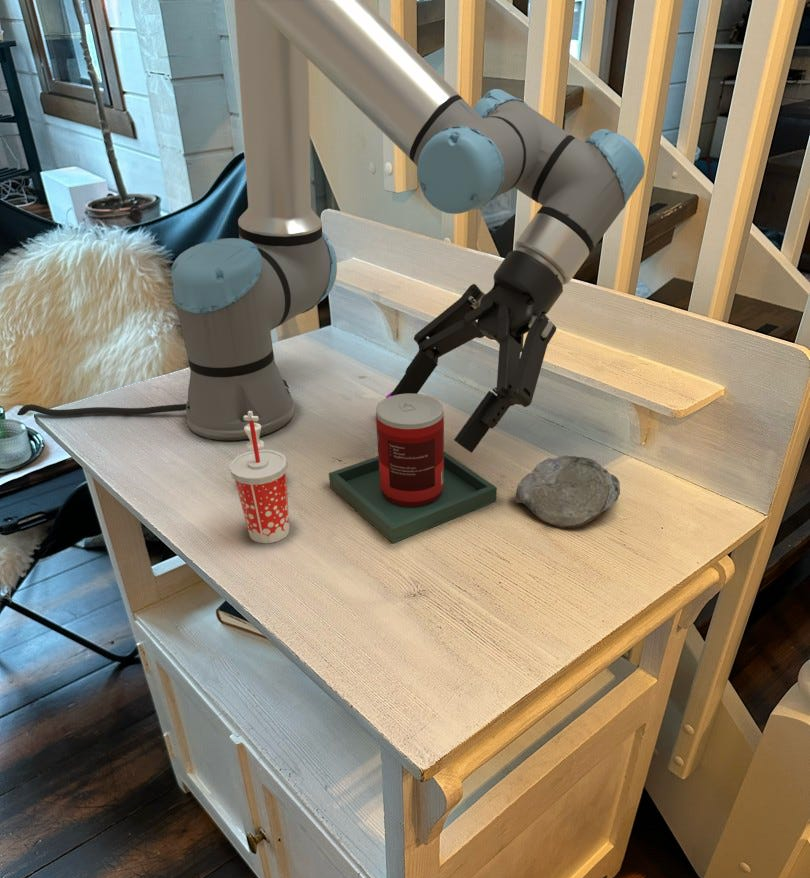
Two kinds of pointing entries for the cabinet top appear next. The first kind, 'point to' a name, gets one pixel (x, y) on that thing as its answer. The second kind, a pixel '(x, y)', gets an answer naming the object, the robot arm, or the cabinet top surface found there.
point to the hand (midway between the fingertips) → (428, 423)
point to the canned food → (410, 448)
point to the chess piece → (257, 430)
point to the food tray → (403, 521)
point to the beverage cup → (262, 492)
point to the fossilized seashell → (568, 491)
